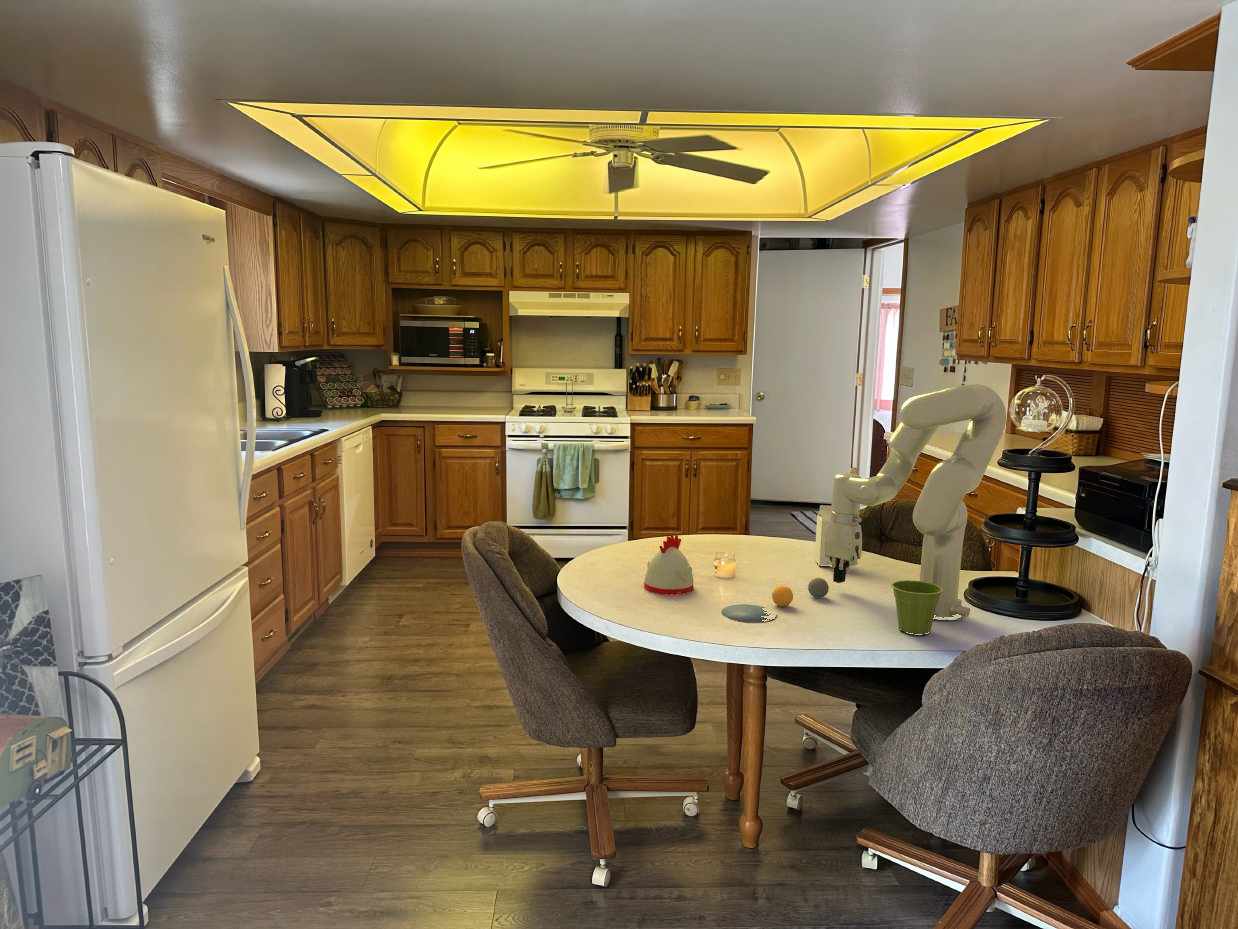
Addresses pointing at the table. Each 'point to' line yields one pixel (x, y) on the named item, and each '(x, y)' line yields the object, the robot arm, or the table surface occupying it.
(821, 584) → the gray ball
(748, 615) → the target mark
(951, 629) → the table surface
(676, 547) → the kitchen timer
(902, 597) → the plant pot
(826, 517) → the milk carton
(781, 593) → the object ball
